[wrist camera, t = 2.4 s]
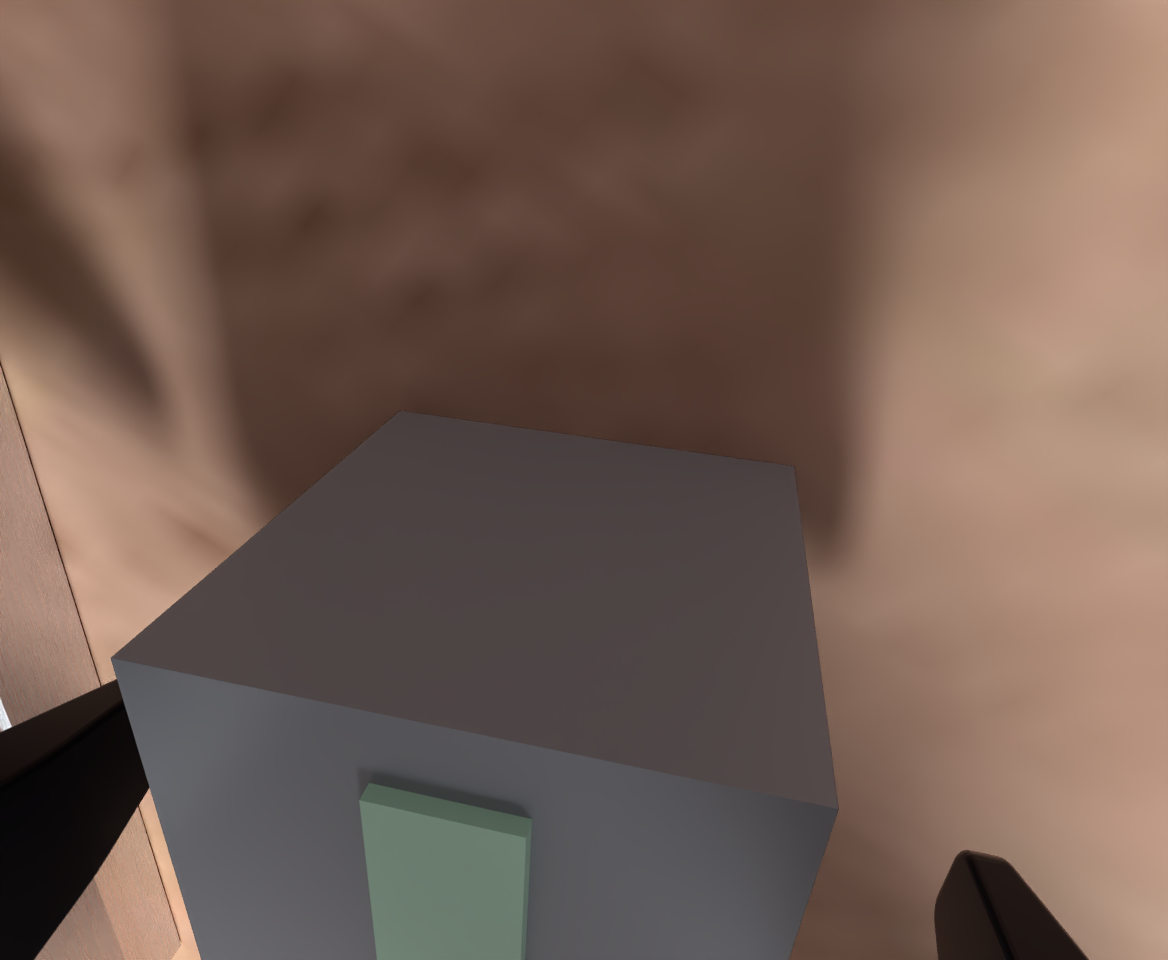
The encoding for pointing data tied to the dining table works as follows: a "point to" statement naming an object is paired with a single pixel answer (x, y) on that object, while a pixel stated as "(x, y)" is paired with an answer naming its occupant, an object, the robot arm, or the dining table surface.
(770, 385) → the dining table surface
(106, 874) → the grey metal u-shaped block
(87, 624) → the dining table surface
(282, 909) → the block
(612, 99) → the dining table surface
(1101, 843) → the dining table surface
